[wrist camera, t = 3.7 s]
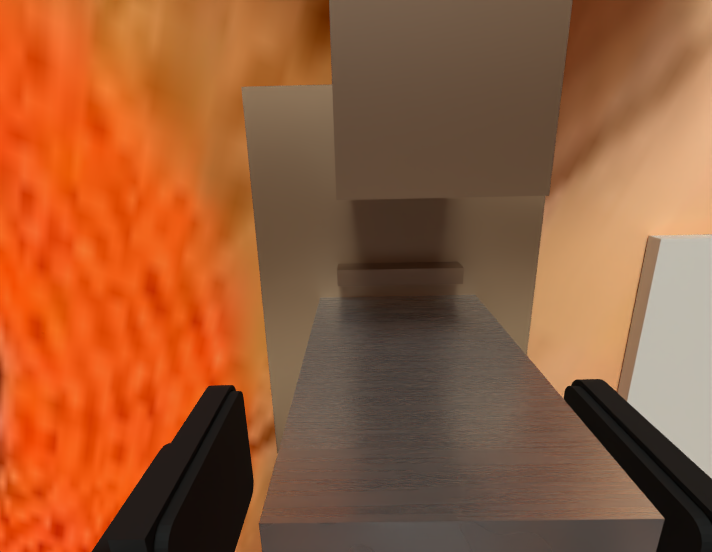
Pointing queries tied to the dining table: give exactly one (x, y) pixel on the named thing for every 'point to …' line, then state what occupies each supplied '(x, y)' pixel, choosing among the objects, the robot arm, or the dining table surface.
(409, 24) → the plane body
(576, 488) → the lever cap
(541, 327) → the dining table surface
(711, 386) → the pad
